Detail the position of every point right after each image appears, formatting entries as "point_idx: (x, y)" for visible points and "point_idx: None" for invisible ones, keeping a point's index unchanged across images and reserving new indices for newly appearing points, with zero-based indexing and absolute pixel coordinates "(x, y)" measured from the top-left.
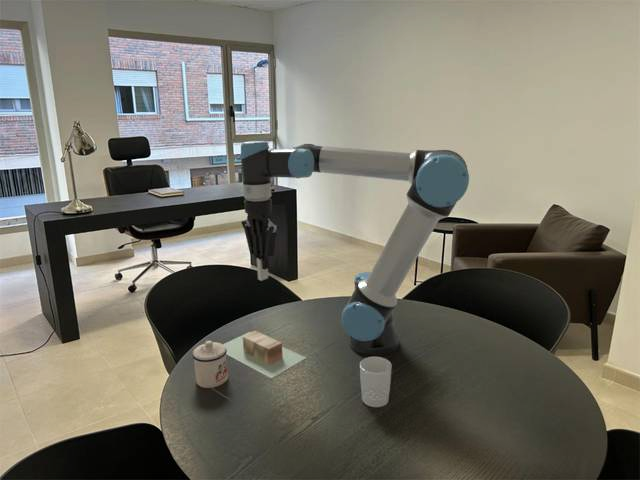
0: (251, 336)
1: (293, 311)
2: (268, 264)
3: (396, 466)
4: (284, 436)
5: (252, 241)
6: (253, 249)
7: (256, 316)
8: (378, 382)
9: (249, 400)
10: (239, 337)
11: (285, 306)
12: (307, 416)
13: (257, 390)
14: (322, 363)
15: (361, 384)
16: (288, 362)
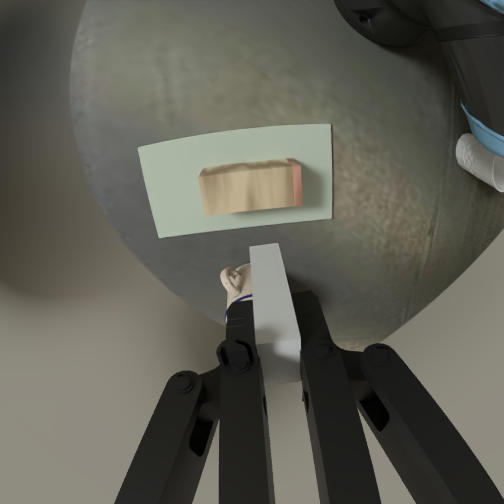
0: (219, 200)
1: (118, 15)
2: (321, 309)
3: (499, 225)
4: (417, 273)
5: (188, 480)
6: (198, 420)
7: (80, 99)
8: (501, 179)
9: (343, 269)
10: (147, 179)
11: (85, 22)
12: (423, 235)
13: (334, 249)
14: (364, 115)
15: (475, 174)
16: (316, 161)
